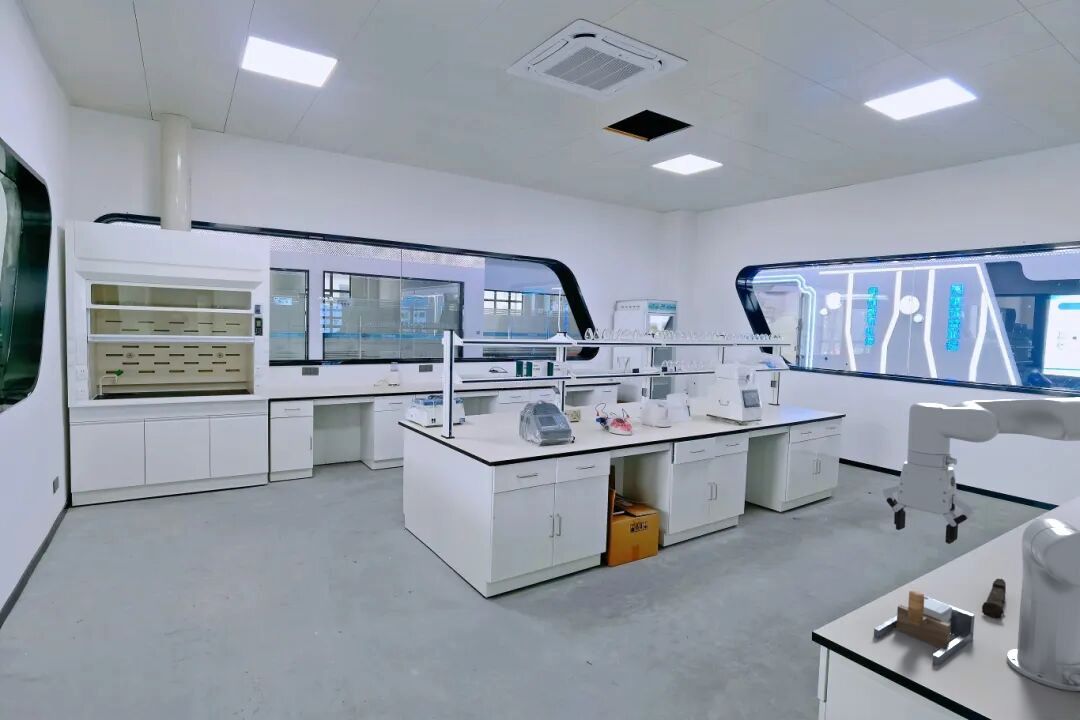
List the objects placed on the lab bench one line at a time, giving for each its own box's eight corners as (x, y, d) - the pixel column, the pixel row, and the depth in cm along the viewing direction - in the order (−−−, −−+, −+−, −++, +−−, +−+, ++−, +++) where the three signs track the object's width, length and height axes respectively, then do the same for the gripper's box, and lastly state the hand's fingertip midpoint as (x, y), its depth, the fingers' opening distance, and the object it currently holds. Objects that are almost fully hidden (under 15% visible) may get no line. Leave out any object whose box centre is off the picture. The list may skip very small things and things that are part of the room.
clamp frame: (937, 666, 115) (939, 638, 114) (873, 636, 125) (875, 611, 125) (972, 640, 125) (974, 614, 124) (910, 615, 135) (912, 591, 135)
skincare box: (938, 645, 122) (940, 613, 122) (908, 632, 128) (910, 601, 127) (950, 637, 126) (952, 606, 125) (920, 625, 131) (922, 595, 130)
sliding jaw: (936, 657, 117) (940, 605, 117) (886, 635, 126) (889, 586, 125) (949, 648, 121) (952, 597, 120) (899, 627, 129) (902, 579, 128)
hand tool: (1002, 622, 133) (1003, 603, 133) (981, 615, 136) (982, 597, 136) (1013, 597, 146) (1015, 580, 146) (994, 591, 149) (995, 575, 149)
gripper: (982, 465, 116) (978, 544, 117) (892, 450, 130) (889, 520, 131) (969, 470, 112) (965, 552, 113) (877, 454, 126) (874, 527, 127)
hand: (924, 535), depth 122 cm, fingers open, 9 cm apart
